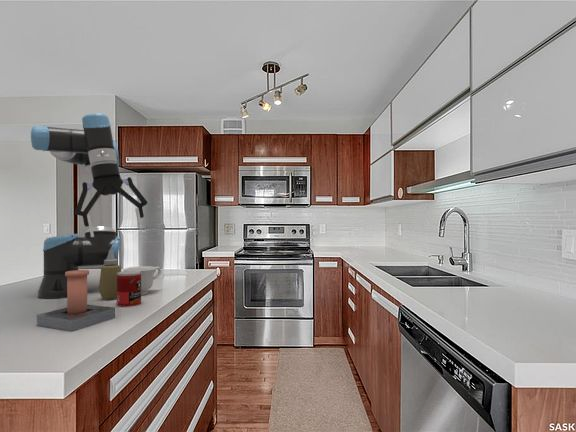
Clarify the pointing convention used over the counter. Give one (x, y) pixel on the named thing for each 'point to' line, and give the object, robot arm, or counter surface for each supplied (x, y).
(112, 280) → the squeeze bottle
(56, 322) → the flange block
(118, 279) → the canned food
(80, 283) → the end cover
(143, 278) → the teacup
